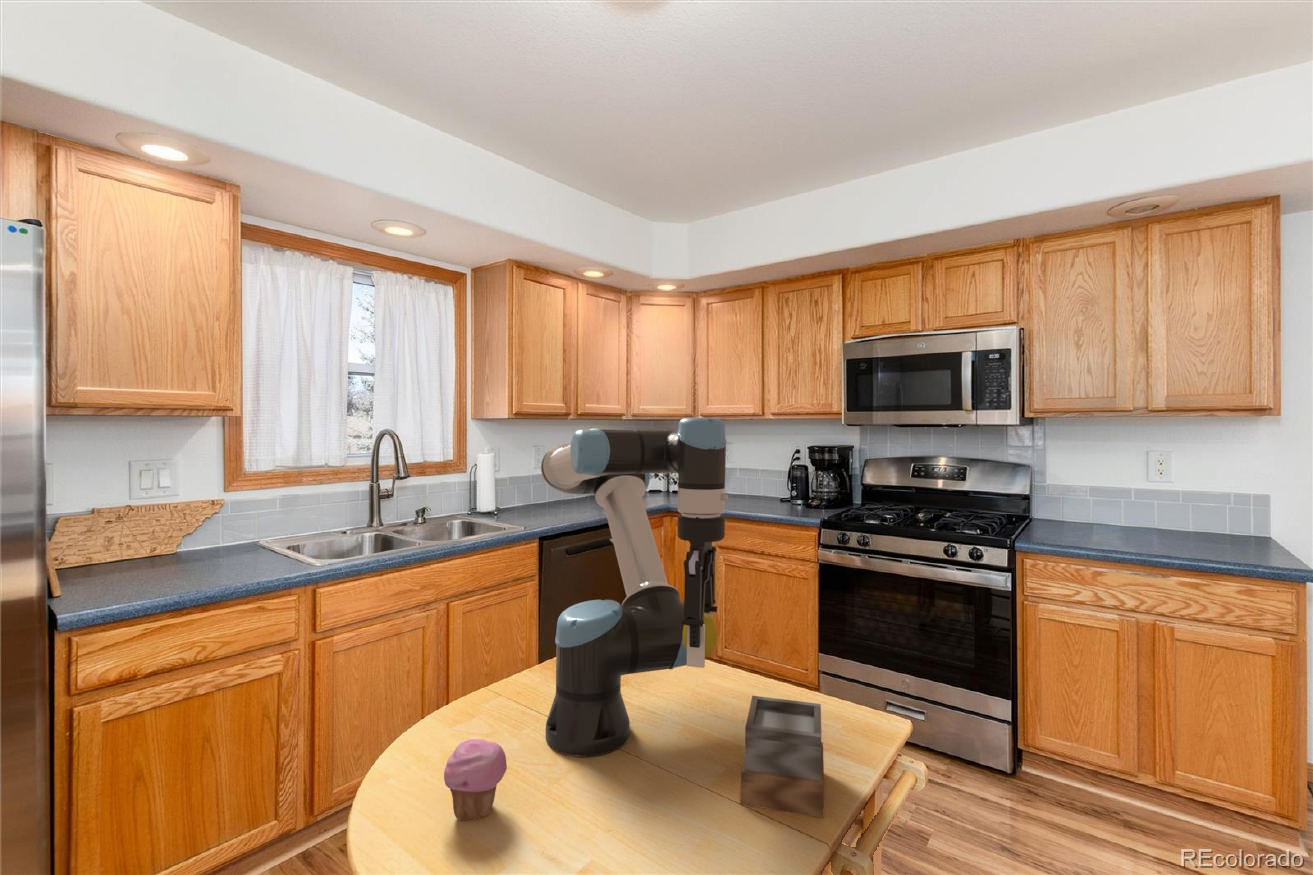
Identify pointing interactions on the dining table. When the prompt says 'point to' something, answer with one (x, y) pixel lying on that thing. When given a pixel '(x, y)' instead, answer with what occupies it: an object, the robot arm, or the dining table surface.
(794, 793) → the grey storage bin
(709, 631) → the lemon
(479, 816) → the cupcake
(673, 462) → the robot arm
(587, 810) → the dining table surface
